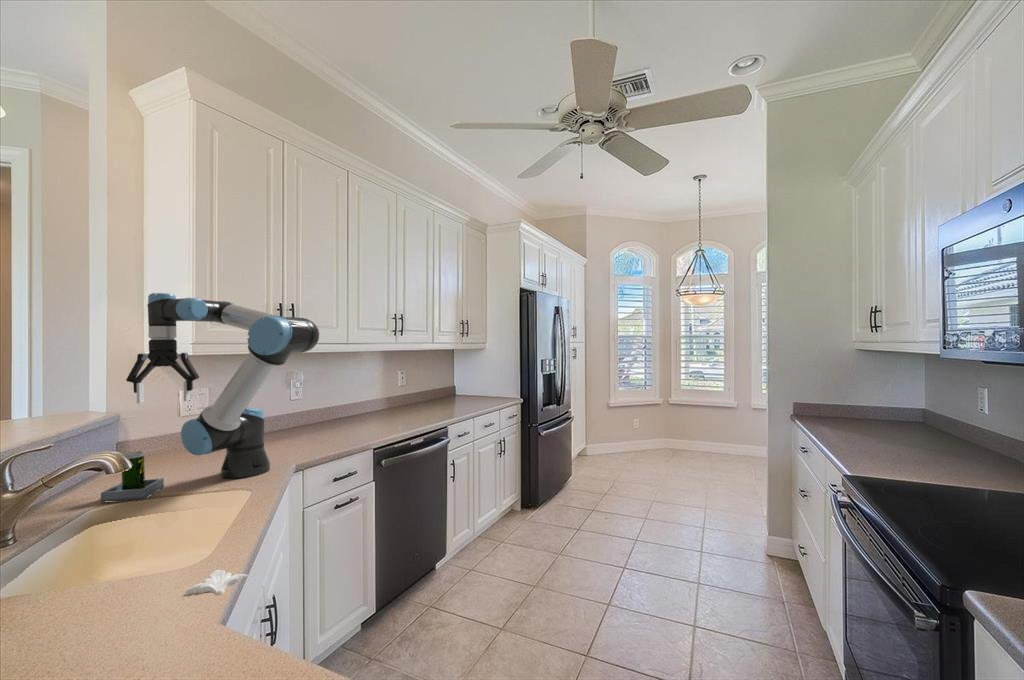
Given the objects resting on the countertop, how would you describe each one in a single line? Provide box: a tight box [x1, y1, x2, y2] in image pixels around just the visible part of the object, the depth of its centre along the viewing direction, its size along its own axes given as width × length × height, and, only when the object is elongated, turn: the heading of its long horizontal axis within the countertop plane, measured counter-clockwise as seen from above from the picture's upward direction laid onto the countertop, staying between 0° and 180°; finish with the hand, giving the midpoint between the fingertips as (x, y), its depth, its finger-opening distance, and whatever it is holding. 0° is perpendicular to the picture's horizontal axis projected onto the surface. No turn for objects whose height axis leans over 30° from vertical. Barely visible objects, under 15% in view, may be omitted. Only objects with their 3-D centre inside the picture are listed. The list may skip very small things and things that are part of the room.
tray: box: [100, 477, 165, 503], centre depth 137 cm, size 11×11×3 cm
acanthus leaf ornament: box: [185, 569, 249, 596], centre depth 85 cm, size 8×7×2 cm
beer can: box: [121, 450, 146, 490], centre depth 137 cm, size 5×5×12 cm
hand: (164, 401), depth 152 cm, fingers open, 13 cm apart
